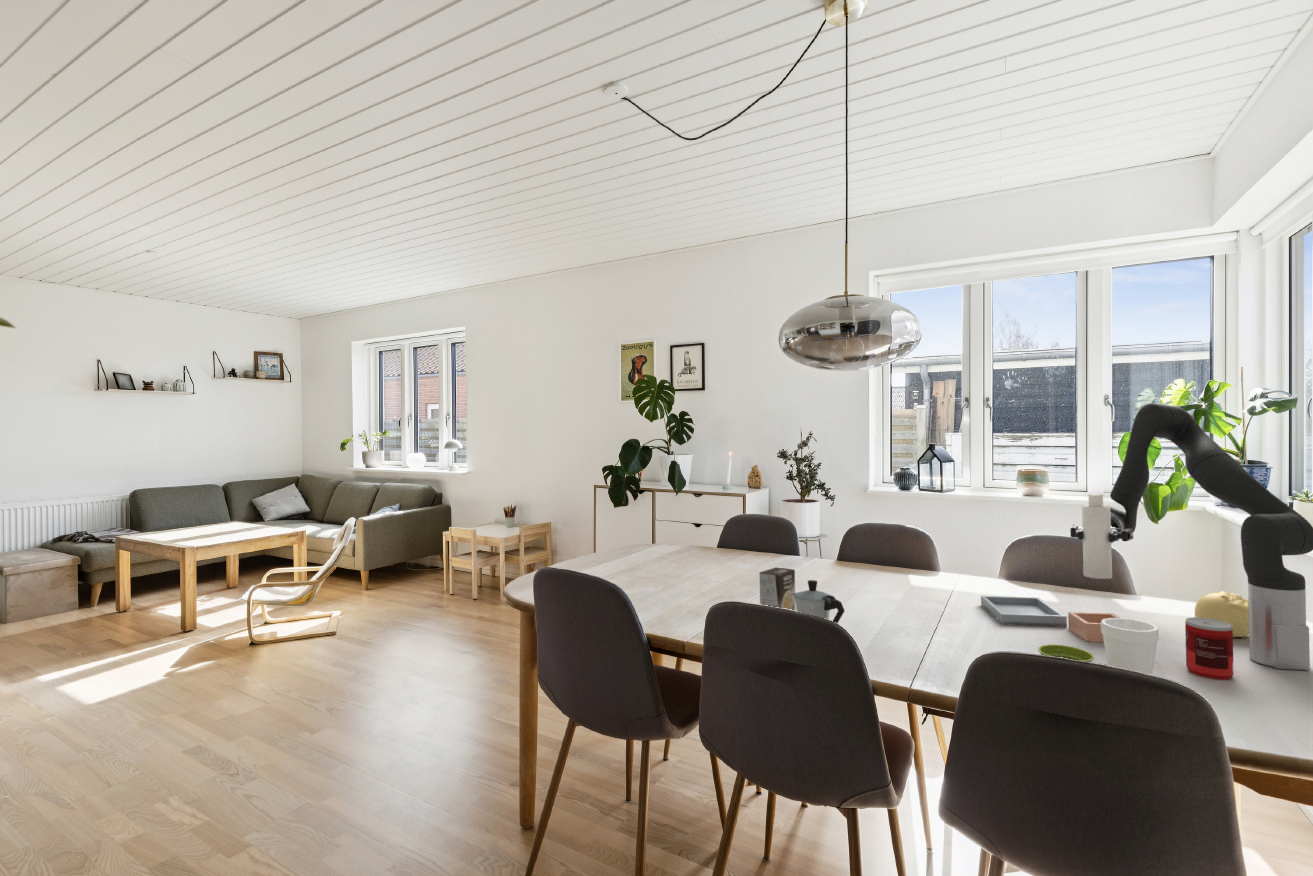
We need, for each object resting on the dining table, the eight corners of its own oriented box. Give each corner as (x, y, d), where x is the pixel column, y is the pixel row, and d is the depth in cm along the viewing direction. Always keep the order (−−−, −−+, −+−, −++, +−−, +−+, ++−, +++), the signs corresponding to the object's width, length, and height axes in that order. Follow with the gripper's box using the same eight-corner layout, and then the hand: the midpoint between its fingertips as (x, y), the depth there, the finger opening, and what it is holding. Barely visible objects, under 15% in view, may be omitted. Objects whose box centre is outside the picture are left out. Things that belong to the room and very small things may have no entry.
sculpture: (1261, 644, 153) (1260, 600, 153) (1196, 636, 160) (1195, 593, 160) (1254, 632, 162) (1253, 590, 162) (1193, 624, 169) (1192, 584, 169)
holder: (1133, 643, 156) (1133, 625, 156) (1086, 641, 158) (1085, 623, 158) (1113, 630, 166) (1112, 613, 166) (1068, 628, 168) (1068, 612, 168)
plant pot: (1084, 688, 130) (1083, 646, 130) (1103, 707, 121) (1102, 662, 121) (1033, 684, 133) (1032, 643, 133) (1047, 702, 124) (1046, 658, 124)
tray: (1066, 626, 170) (1066, 616, 170) (1001, 624, 174) (1001, 614, 174) (1039, 606, 190) (1038, 597, 190) (981, 605, 193) (980, 595, 193)
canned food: (1209, 665, 140) (1208, 616, 140) (1244, 679, 132) (1243, 627, 132) (1176, 667, 140) (1175, 617, 140) (1209, 681, 132) (1208, 628, 132)
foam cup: (1140, 679, 134) (1138, 618, 134) (1171, 697, 125) (1169, 631, 125) (1092, 678, 135) (1091, 617, 135) (1119, 696, 126) (1118, 631, 126)
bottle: (1116, 579, 159) (1114, 495, 159) (1089, 578, 160) (1087, 495, 160) (1105, 573, 165) (1103, 493, 164) (1079, 573, 166) (1077, 493, 166)
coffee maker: (782, 652, 156) (780, 579, 156) (803, 644, 162) (802, 573, 162) (833, 668, 145) (831, 589, 145) (855, 658, 150) (853, 583, 150)
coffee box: (780, 635, 169) (779, 575, 169) (759, 630, 173) (758, 572, 173) (796, 626, 176) (795, 569, 176) (776, 622, 180) (774, 566, 180)
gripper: (1073, 512, 178) (1061, 520, 165) (1137, 516, 168) (1130, 524, 156) (1074, 539, 178) (1062, 548, 165) (1138, 544, 168) (1130, 554, 156)
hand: (1095, 536), depth 160 cm, fingers closed on bottle, 6 cm apart
